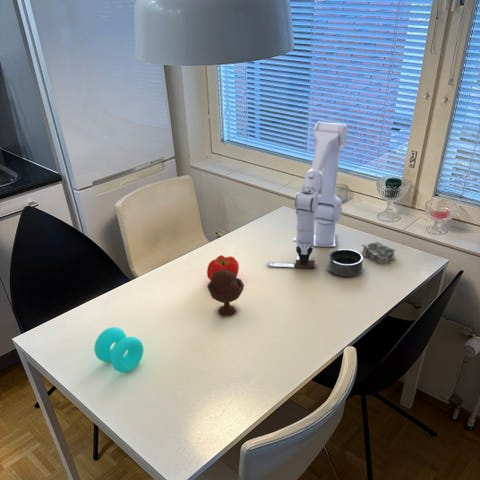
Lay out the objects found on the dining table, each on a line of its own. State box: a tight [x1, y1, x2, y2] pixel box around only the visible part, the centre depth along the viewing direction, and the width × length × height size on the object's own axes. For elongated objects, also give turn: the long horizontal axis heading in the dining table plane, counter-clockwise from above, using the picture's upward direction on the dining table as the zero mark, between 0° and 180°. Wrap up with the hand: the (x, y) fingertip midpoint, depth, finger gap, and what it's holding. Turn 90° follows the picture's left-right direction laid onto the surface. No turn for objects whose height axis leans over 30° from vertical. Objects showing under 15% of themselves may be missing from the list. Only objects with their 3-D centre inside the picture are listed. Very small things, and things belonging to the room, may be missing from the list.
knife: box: [268, 256, 316, 269], centre depth 173 cm, size 16×2×3 cm, turn 82°
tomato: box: [206, 254, 240, 281], centre depth 165 cm, size 11×11×9 cm
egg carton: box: [362, 241, 397, 264], centre depth 176 cm, size 11×8×4 cm
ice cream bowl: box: [206, 270, 245, 317], centre depth 149 cm, size 11×11×15 cm
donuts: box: [93, 326, 144, 373], centre depth 133 cm, size 10×10×10 cm
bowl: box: [328, 248, 364, 278], centre depth 170 cm, size 11×11×5 cm
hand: (304, 262), depth 173 cm, fingers closed on knife, 2 cm apart
